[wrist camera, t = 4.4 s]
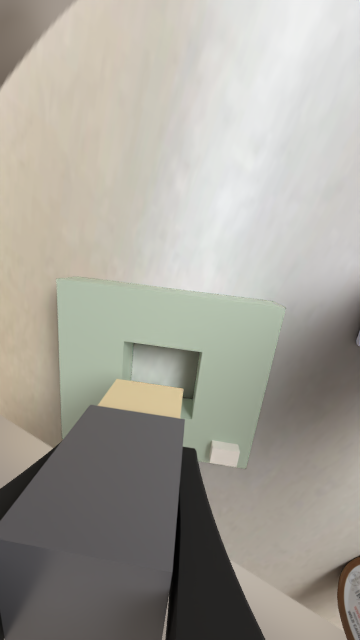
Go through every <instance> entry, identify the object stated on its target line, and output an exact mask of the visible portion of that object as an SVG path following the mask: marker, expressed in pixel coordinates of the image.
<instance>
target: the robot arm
mask: <svg viewBox="0 0 360 640" xmlns="http://www.w3.org/2000/svg"><path fill="white" fill-rule="evenodd" d="M356 343H357V345H358V346H360V331H359V334H358V337H357V340H356ZM59 444H60V443H59ZM59 444H58V445H57V446H56V447H55V448H53V449H52V450H51V451H50V452H48V453H47V454H46V455H45V456H43V457H42V458H41V459H39V460H38V461H37V462H36V463H34V464H33V465H32V466H30V467H29V468H28V469H27V470H25V471H24V472H23V473H21V474H20V475H19V476H17V477H16V478H15V479H13V480H12V481H11V482H9V483H8V484H6V485H5V486H4V487H2V488H1V489H0V521H1V519H2V518H3V517H4V516H5V514H6V513H7V512H8V510H9V509H10V508H11V507H12V505H13V504H14V503H15V501H16V500H17V499H18V497H19V496H20V495H21V494H22V492H23V491H24V490H25V488H26V487H27V486H28V484H29V483H30V482H31V481H32V479H33V478H34V477H35V475H36V474H37V473H38V472H39V470H40V469H41V468H42V466H43V465H44V464H45V462H46V461H47V460H48V459H49V457H50V456H51V455H52V453H53V452H54V451H55V450H56V448H57V447H58V446H59ZM4 638H5V637H4V631H3V625H2V619H1V613H0V640H4ZM166 640H265V638H264V636H263V634H262V632H261V629H260V627H259V625H258V623H257V621H256V619H255V617H254V615H253V613H252V611H251V609H250V606H249V604H248V602H247V600H246V598H245V595H244V593H243V591H242V589H241V586H240V584H239V582H238V579H237V577H236V575H235V572H234V570H233V567H232V565H231V563H230V560H229V558H228V555H227V553H226V550H225V547H224V545H223V542H222V540H221V537H220V534H219V531H218V529H217V526H216V523H215V520H214V517H213V514H212V511H211V508H210V505H209V502H208V498H207V495H206V492H205V488H204V485H203V481H202V477H201V473H200V469H199V464H198V458H197V451H196V450H195V448H189V447H183V450H182V462H181V474H180V486H179V498H178V510H177V523H176V535H175V547H174V559H173V571H172V578H171V584H170V590H169V604H168V618H167V630H166Z"/></svg>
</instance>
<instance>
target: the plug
mask: <svg viewBox="0 0 360 640" xmlns="http://www.w3.org/2000/svg"><path fill="white" fill-rule="evenodd" d="M182 397H183V389H182V388H175V387H169V386H162V385H155V384H148V383H142V382H135V381H128V380H122V379H116V380H115V382H114V383H113V385H112V386H111V387H110V389H109V390H108V392H107V393H106V394H105V396H104V397H103V399H102V400H101V401H100V403H99V404H98V406H96V405H89V407H88V408H87V409H86V411H85V412H84V413H83V415H82V416H81V417H80V418H79V420H78V421H77V422H76V424H75V425H74V426H73V428H72V429H71V430H70V431H69V433H68V434H67V435H66V437H65V438H64V439H63V440H62V442H61V443H60V444H59V446H58V447H57V448H56V450H55V451H54V452H53V453H52V455H51V456H50V457H49V459H48V460H47V461H46V462H45V464H44V465H43V466H42V468H41V469H40V470H39V472H38V473H37V474H36V475H35V477H34V478H33V479H32V481H31V482H30V483H29V484H28V486H27V487H26V488H25V490H24V491H23V492H22V494H21V495H20V496H19V497H18V499H17V500H16V501H15V503H14V504H13V505H12V507H11V508H10V509H9V510H8V512H7V513H6V514H5V516H4V517H3V518H2V519H1V521H0V613H1V619H2V625H3V631H4V637H5V640H162V634H163V628H164V621H165V615H166V608H167V602H168V597H169V590H170V584H171V578H172V571H173V559H174V547H175V535H176V523H177V510H178V498H179V486H180V474H181V462H182V450H183V437H184V425H185V419H180V415H181V406H182Z"/></svg>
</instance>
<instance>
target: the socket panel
mask: <svg viewBox="0 0 360 640" xmlns="http://www.w3.org/2000/svg"><path fill="white" fill-rule="evenodd" d="M56 281H57V310H58V339H59V368H60V397H61V427H62V439H64V438H65V437H66V435H67V434H68V433H69V431H70V430H71V429H72V428H73V426H74V425H75V424H76V422H77V421H78V420H79V418H80V417H81V416H82V415H83V413H84V412H85V411H86V409H87V408H88V407H89V405H96V406H98V404H99V403H100V401H101V400H102V399H103V397H104V396H105V394H106V393H107V392H108V390H109V389H110V387H111V386H112V385H113V383H114V382H115V380H116V379H122V380H128V381H131V373H132V357H133V343H140V344H147V345H154V346H161V347H169V348H176V349H183V350H190V351H197V352H200V354H199V361H198V368H197V374H196V381H195V388H194V394H193V399H187V398H182V406H181V415H180V419H185V425H184V437H183V447H189V448H195V450H196V451H197V458H198V461H200V462H206V463H212V464H218V465H224V466H230V467H236V468H242V469H246V466H247V462H248V458H249V454H250V450H251V446H252V442H253V438H254V434H255V430H256V426H257V422H258V418H259V414H260V410H261V406H262V402H263V398H264V394H265V390H266V386H267V382H268V378H269V374H270V370H271V366H272V362H273V358H274V354H275V350H276V346H277V342H278V338H279V334H280V330H281V326H282V322H283V318H284V314H285V310H286V308H285V307H283V306H281V305H279V304H277V303H275V302H273V301H267V300H259V299H251V298H243V297H235V296H227V295H219V294H211V293H203V292H195V291H187V290H179V289H171V288H163V287H155V286H147V285H139V284H131V283H123V282H115V281H108V280H100V279H92V278H84V277H68V278H58V279H56Z"/></svg>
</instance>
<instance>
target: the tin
mask: <svg viewBox="0 0 360 640" xmlns="http://www.w3.org/2000/svg"><path fill="white" fill-rule="evenodd" d="M337 599H338V609H339V613H340V617H341V621H342V625H343V628H344V632H345V634H346V637H347V640H360V556H359V557H357V558H355V559H353V560H352V561H350V562H349V563H348V564H347V565H346V566H345V568H344V569H343V571H342V573H341V575H340V579H339V583H338V592H337Z"/></svg>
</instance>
